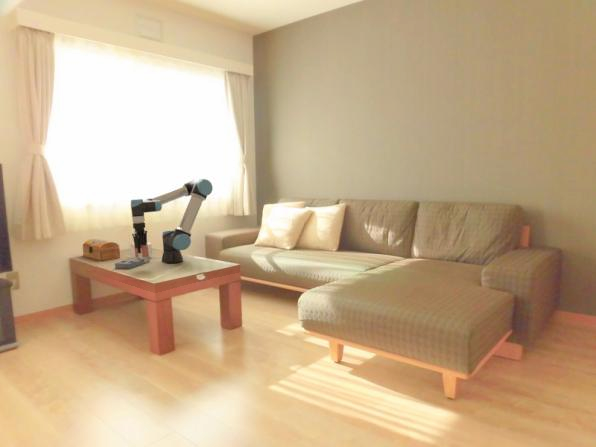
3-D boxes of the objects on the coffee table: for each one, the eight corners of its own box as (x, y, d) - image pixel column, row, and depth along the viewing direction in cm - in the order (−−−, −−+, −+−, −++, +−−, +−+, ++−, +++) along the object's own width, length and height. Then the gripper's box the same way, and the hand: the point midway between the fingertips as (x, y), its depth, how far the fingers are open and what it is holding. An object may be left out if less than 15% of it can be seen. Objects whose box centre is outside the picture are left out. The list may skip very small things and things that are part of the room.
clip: (138, 261, 279) (136, 245, 277) (149, 261, 277) (147, 245, 275) (135, 262, 276) (134, 246, 275) (147, 262, 274) (145, 246, 273)
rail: (136, 261, 306) (136, 256, 306) (149, 261, 303) (149, 256, 303) (115, 268, 283) (114, 263, 282) (129, 268, 280) (129, 263, 280)
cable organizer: (130, 257, 320) (129, 242, 318) (142, 255, 328) (141, 241, 326) (140, 260, 310) (139, 244, 309) (153, 257, 318) (152, 242, 317)
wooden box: (81, 257, 326) (80, 240, 324) (102, 254, 339) (101, 237, 337) (99, 262, 307) (97, 243, 305) (120, 258, 319) (119, 240, 317)
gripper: (140, 220, 281) (144, 254, 285) (126, 224, 266) (130, 259, 270) (150, 220, 280) (153, 254, 283) (136, 224, 265) (140, 259, 268)
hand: (142, 257), depth 276 cm, fingers closed on clip, 3 cm apart
